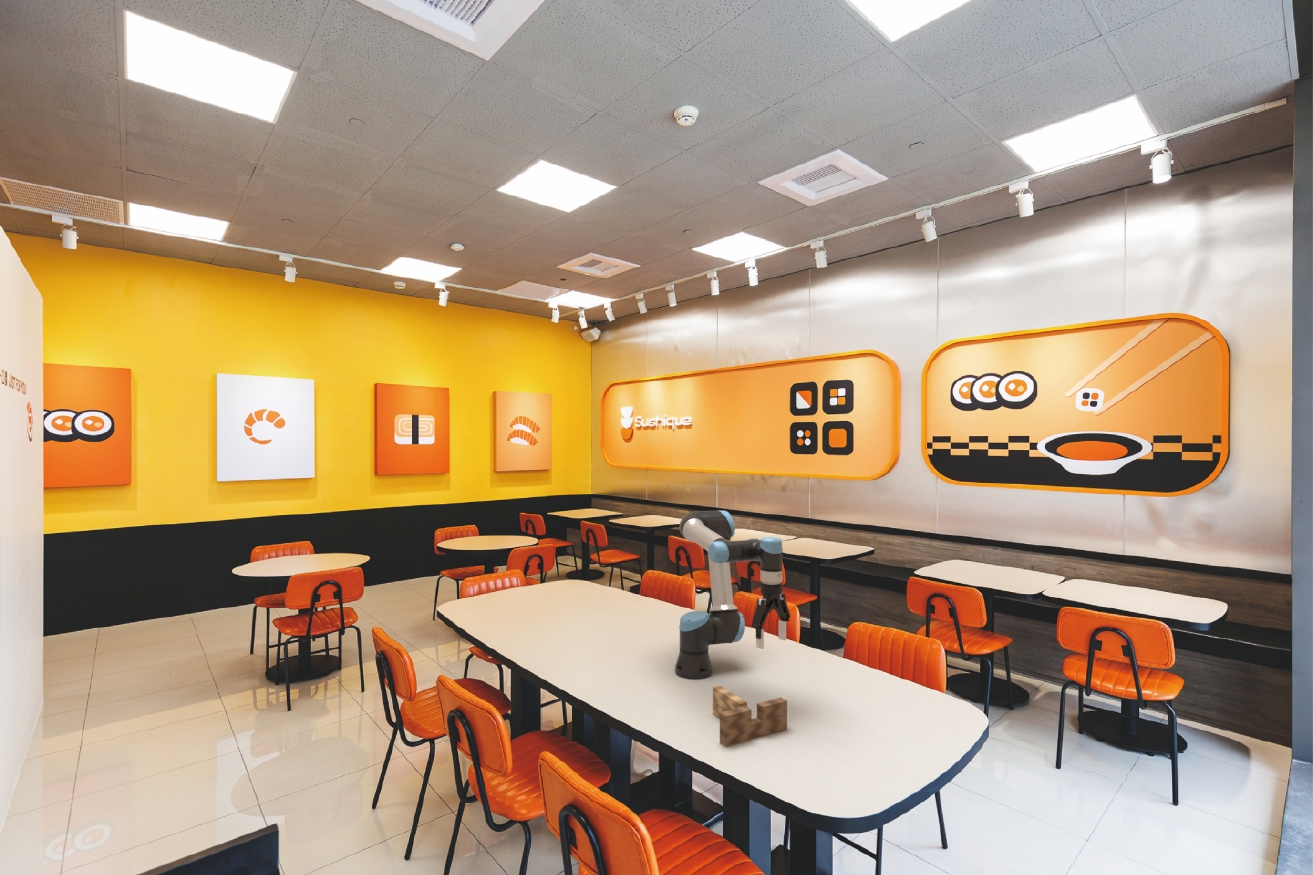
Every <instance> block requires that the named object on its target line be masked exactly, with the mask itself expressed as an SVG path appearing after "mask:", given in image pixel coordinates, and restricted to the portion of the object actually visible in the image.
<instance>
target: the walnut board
mask: <svg viewBox="0 0 1313 875" xmlns="http://www.w3.org/2000/svg"><path fill="white" fill-rule="evenodd" d="M752 712H753V711H752V709H751V708H749V707H748V706H747V707H746V706H744V707H740V708H736V709H732V710H728V711H724V712H720V719H719V743H720V744H721V745H723V746H724V747H728V746H732V745H734V744H738V743H742V742H746V741H749V740H753V739H757V738H760V737H761V738H762V737H764V736H767V735H771V734H775V733H777V732H782V731H785V730H788V700H786V699H785V698H783V697H777V698H773V699H769V700H765V701H762V702H761V701H760V702H757V703H756V717H754V718H752V717H753V716H752Z"/></svg>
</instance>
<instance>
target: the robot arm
mask: <svg viewBox="0 0 1313 875" xmlns="http://www.w3.org/2000/svg"><path fill="white" fill-rule="evenodd" d="M679 531H680V534H681V536H682V537H683V538H684V539H685V540H687V541H688V542H693V543H696V545H698V546H700V547H701V548H703V549H704V550H706V552H707V557H708V558H707V559H708V567H709V577H710V578H709V580H710V589H711V600H712V606H711V607H710V609H709V613H708V612H707V611H705V610H693V611H688V612H686V613H683V615H682V616H680V618H679V619H680V621H679V626H678V627H679V629H678V630H679V652H678V657H677V659H676V662H675V665H674V671H675V672H674V673H675V674H676V675H677V676H678V677H681V678H685V679H689V680H702V679H707V678H710V677H711V676H712V675H713V673H714V672H713V671H714V668H713V664H712V660H711V658H710V657H711V656H710V654H709V646H713V645H724V644H733V643H737V642H740V641H741V640H742V638H743V637H744V634H745V631H746V630H745V629H746V628H745V627H746V623H745V618H744V615H743V613H741V612H739V608H738V607H737V606H736V605H735V604H734V597H733V596H734V595H733V586H732V576H731V574H732V573H731V566H730V563H738V562H739V563H741V562H759V563H760V576H759V577H760V579H759V580H760V581H761V582H760V593H761V594H762V598H757V600H756V607H755V610H754V614H753V619H752V621H751V627H750V628H752V629H755V648H757V649H761V650H764V649H765V646H764V645H765V629H764V628H763V627H764V625H765V623H766V620H767V618H768V615H769V613H771V612H772V611H773V610H774V611H775V612H776V615H777V616H778V618H779V620H778V640H782V641H786V640H787V622H790V618H791V613H790V611H789V610H790V609H789V607H788V604H787V601H786V600H787V599H786V594H785V593H783V583H782V582H783V552H784V550H783V549H784V548H783V541H782V539H781V538H779V537H775V536H774V537H773V536H764V537H762V538H761V539H758V538H748V539H746V540H745V539H744V540H742V539H741V540H732V538H733V537H734V535H735V531H736V526H735V521H734V518H733V517H732V515H731V513H729V512H728V511H727V510H719V509H718V510H696V511H695V510H694V511H690V512H689V513H686V514H685V515H684V516H682V519H680V522H679Z"/></svg>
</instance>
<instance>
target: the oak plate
mask: <svg viewBox="0 0 1313 875" xmlns="http://www.w3.org/2000/svg"><path fill="white" fill-rule="evenodd" d="M744 706H746V707H748V701H746V700H745V699H743V698H741V697H740V696H738V695H737V694H735V693H733V692H731V691H730V690H728V689H726V688H725V687H723V686H722V685H717V686H712V715H713V716H715V717H716V718H718V719H719V720H720V712H724V711H728V710H732V709H736V708H740V707H744Z"/></svg>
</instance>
